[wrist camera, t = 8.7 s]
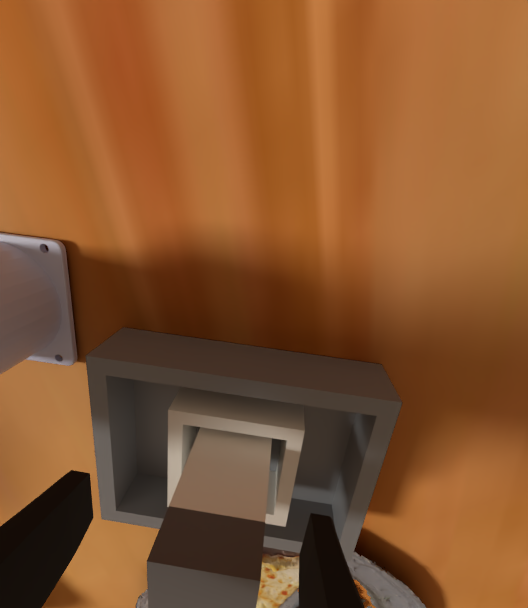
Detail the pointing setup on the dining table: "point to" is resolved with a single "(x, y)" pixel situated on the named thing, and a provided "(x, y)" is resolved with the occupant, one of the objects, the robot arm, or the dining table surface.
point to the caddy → (239, 427)
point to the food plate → (285, 582)
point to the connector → (213, 526)
